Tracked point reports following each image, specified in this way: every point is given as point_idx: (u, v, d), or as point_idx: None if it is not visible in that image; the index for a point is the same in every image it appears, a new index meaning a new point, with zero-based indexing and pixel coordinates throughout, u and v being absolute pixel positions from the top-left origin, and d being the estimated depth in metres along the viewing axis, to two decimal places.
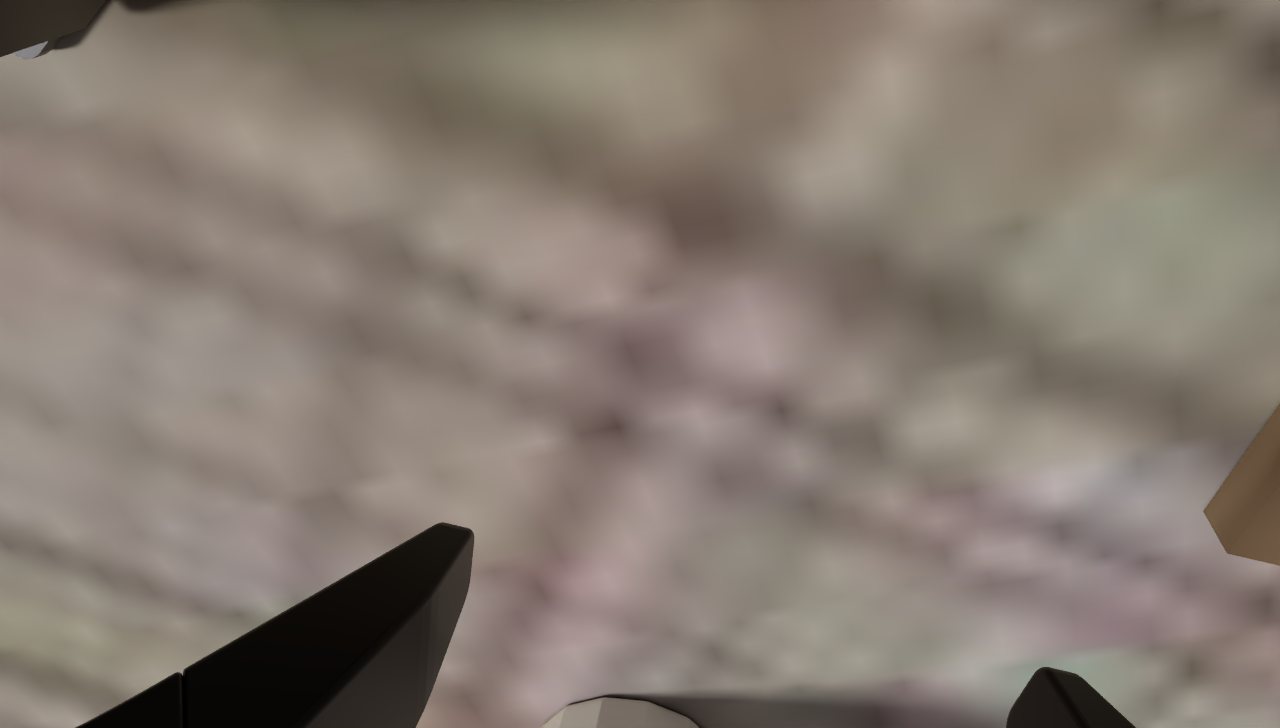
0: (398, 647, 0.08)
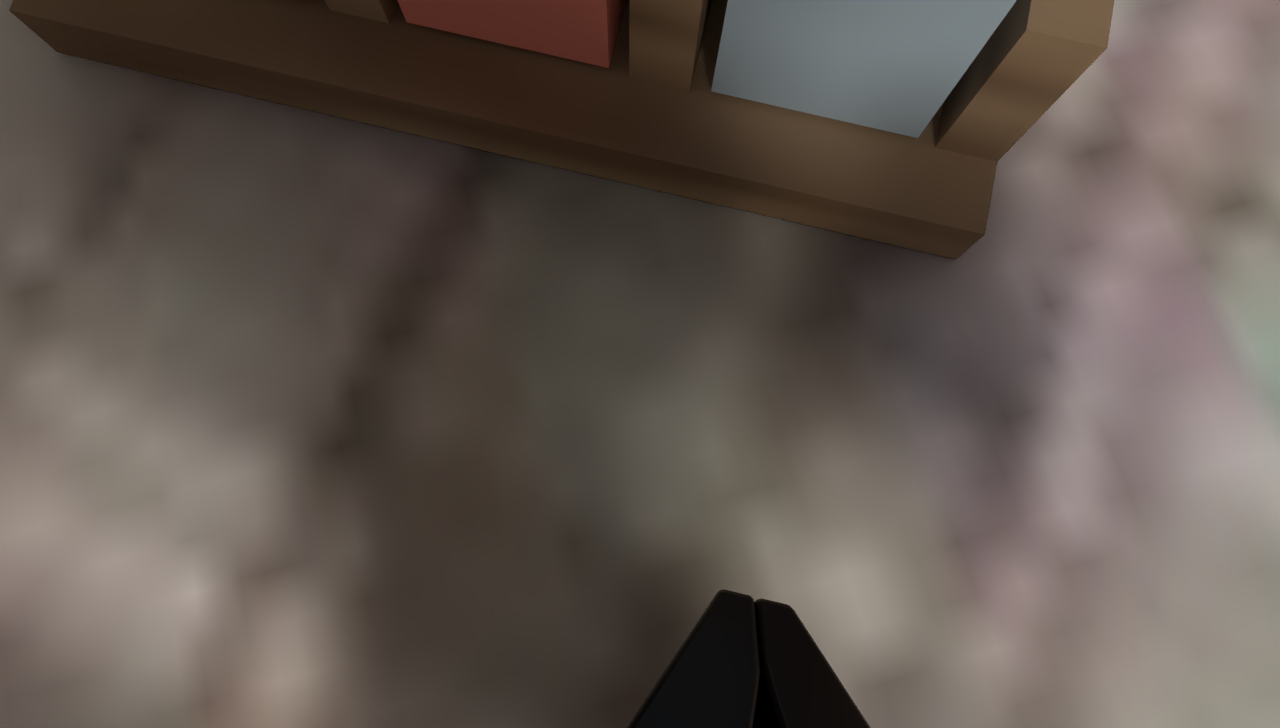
0: None
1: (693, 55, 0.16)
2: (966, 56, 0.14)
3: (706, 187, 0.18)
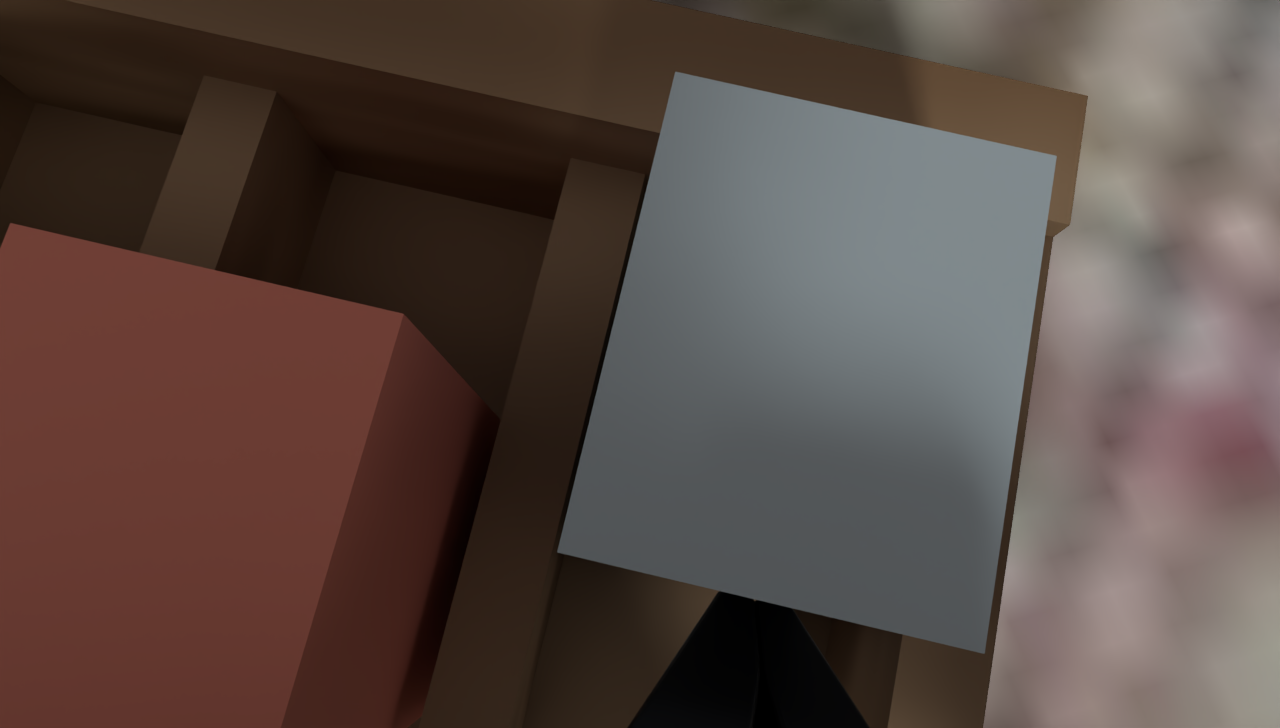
0: None
1: None
2: None
3: None
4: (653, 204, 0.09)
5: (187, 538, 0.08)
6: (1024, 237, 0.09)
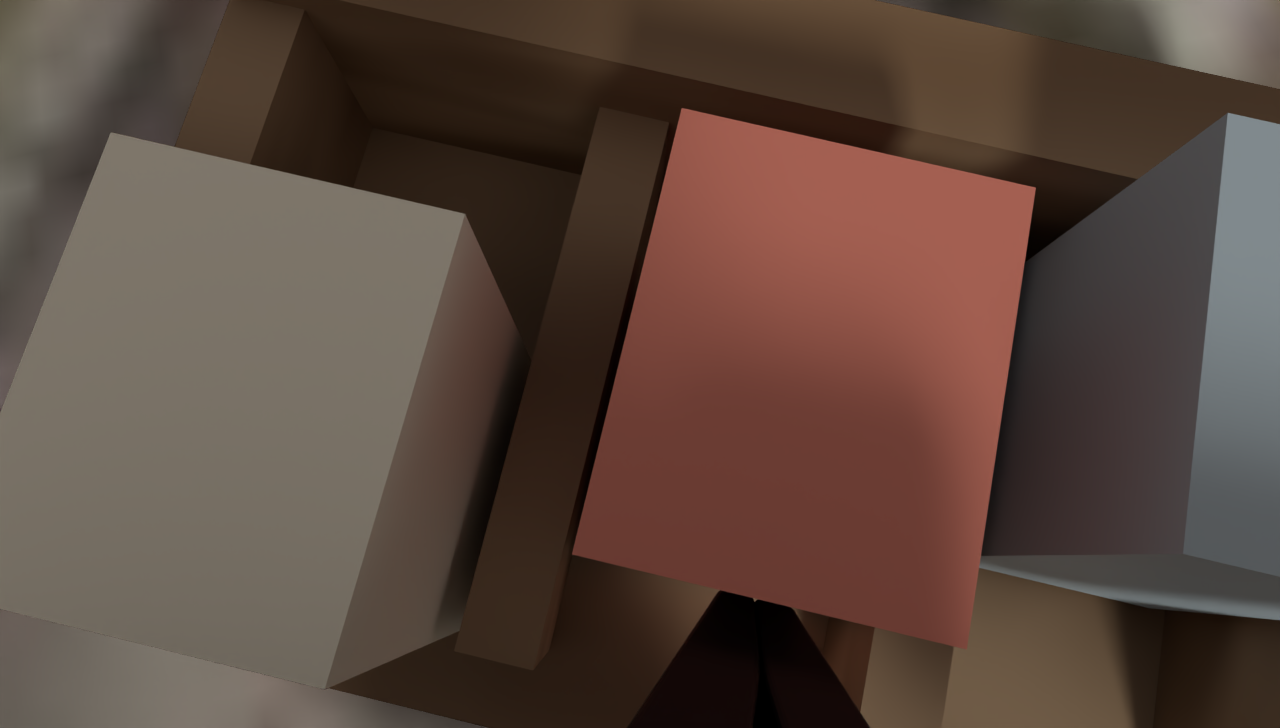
0: None
1: None
2: (1248, 616, 0.14)
3: None
4: (1225, 235, 0.10)
5: (878, 376, 0.09)
6: None
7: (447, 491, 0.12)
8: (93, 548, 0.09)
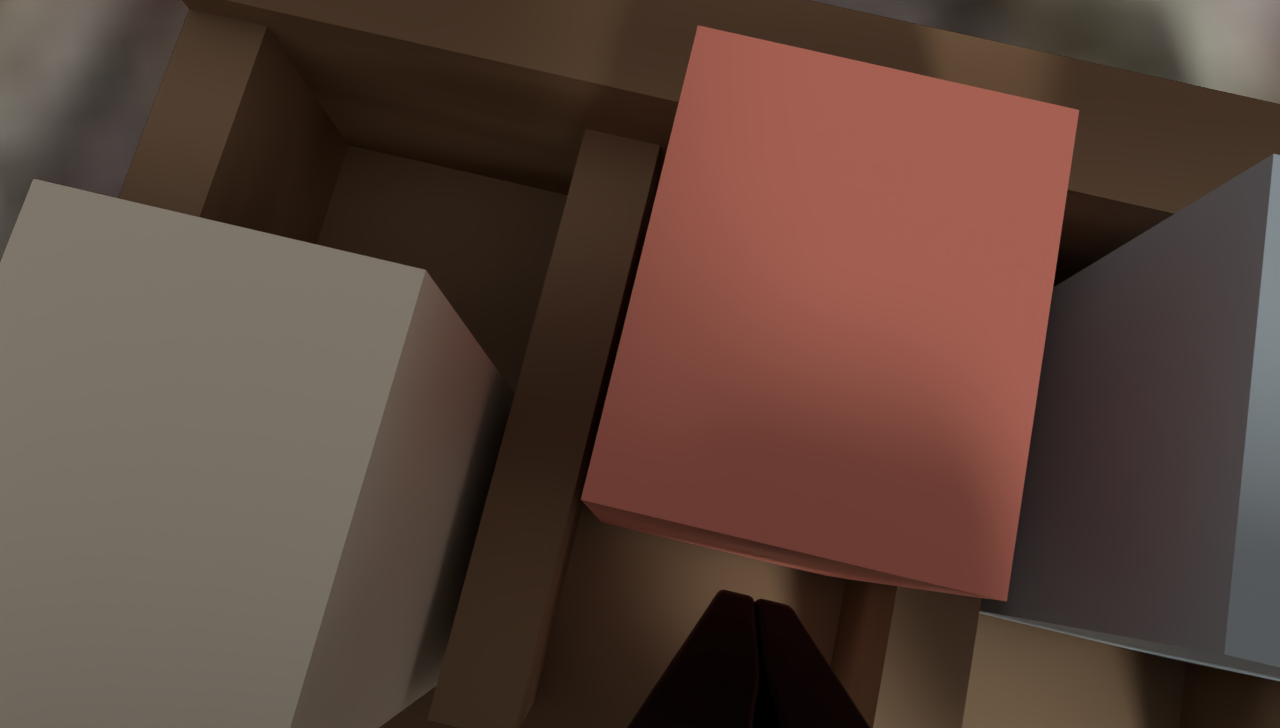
0: None
1: None
2: None
3: None
4: (1271, 292, 0.09)
5: (911, 311, 0.09)
6: None
7: (416, 556, 0.11)
8: (8, 650, 0.08)
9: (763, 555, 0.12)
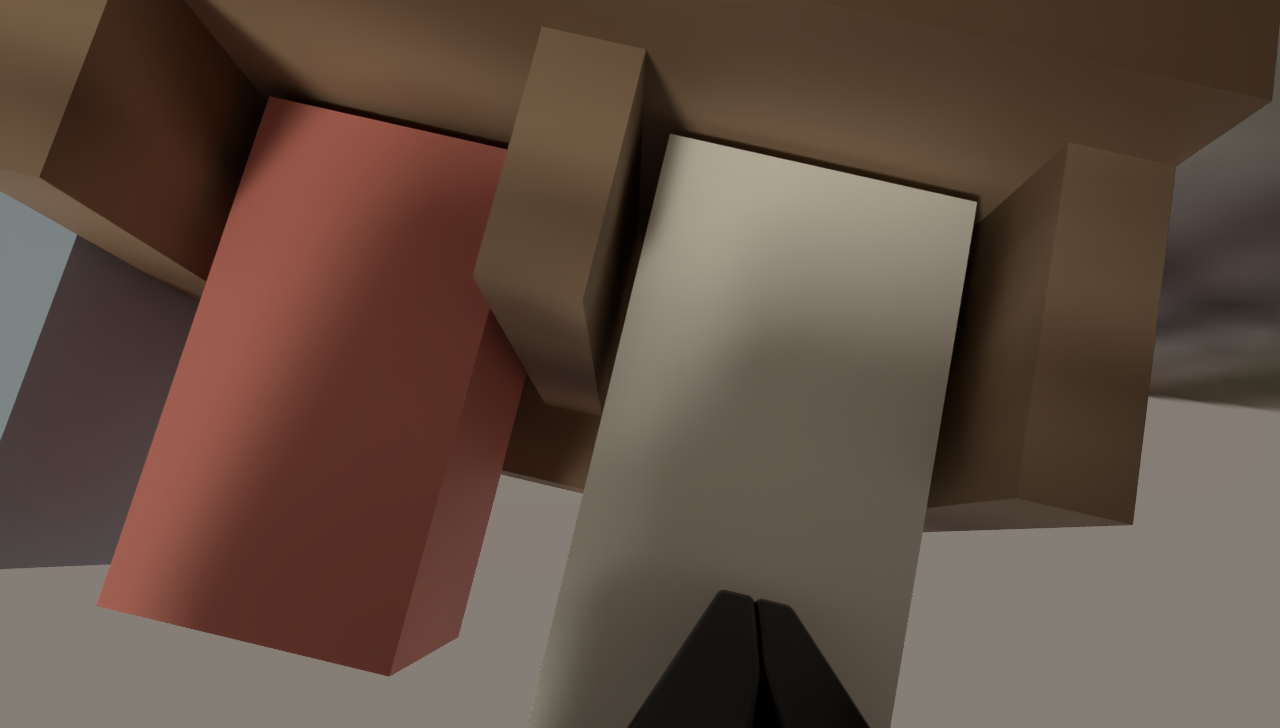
0: None
1: None
2: None
3: None
4: None
5: None
6: None
7: None
8: None
9: (307, 344, 0.13)
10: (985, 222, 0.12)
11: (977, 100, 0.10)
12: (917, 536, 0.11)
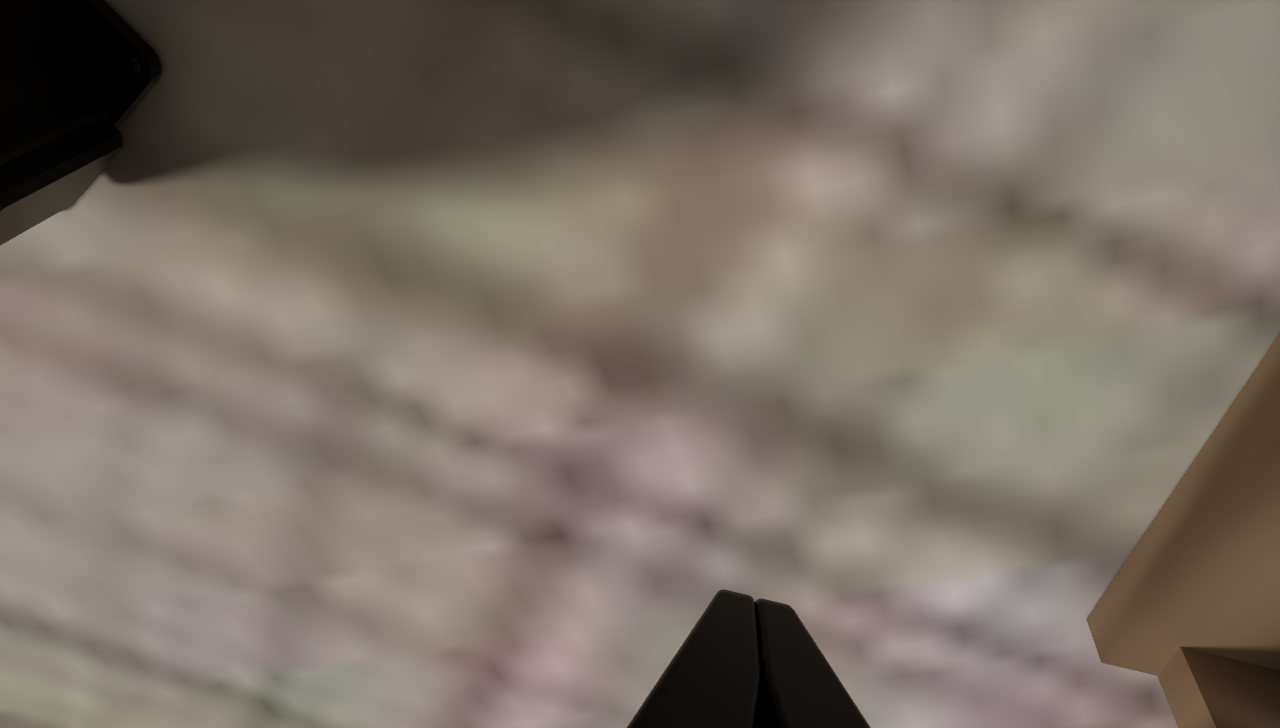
0: None
1: None
2: None
3: (1192, 498, 0.22)
4: None
5: None
6: None
7: None
8: None
9: None
10: None
11: None
12: None
